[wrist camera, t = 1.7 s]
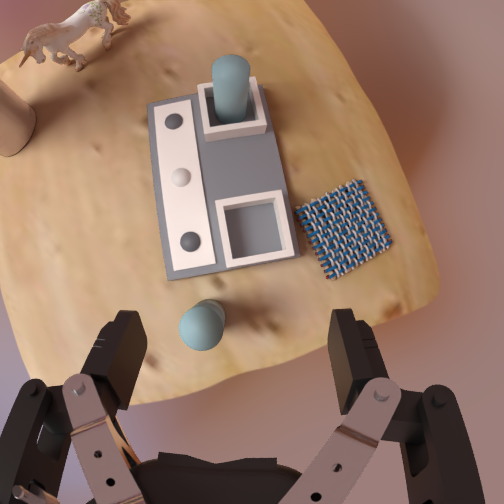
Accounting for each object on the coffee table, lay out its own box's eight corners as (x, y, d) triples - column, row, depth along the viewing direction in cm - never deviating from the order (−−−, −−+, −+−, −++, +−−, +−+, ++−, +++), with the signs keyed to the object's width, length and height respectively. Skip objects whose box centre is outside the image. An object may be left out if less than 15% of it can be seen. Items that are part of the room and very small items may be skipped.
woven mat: (391, 246, 40) (398, 244, 38) (327, 283, 39) (331, 284, 37) (356, 177, 41) (362, 173, 38) (289, 209, 40) (292, 206, 38)
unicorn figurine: (37, 99, 38) (-4, 58, 25) (109, 18, 40) (88, -32, 27) (61, 111, 38) (19, 67, 25) (137, 25, 40) (118, -30, 27)
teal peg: (196, 334, 37) (184, 353, 27) (189, 302, 37) (174, 311, 28) (228, 328, 38) (227, 346, 28) (222, 296, 38) (218, 303, 28)
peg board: (169, 280, 38) (144, 282, 27) (148, 107, 39) (127, 61, 28) (298, 256, 39) (323, 249, 28) (261, 88, 40) (269, 38, 29)
